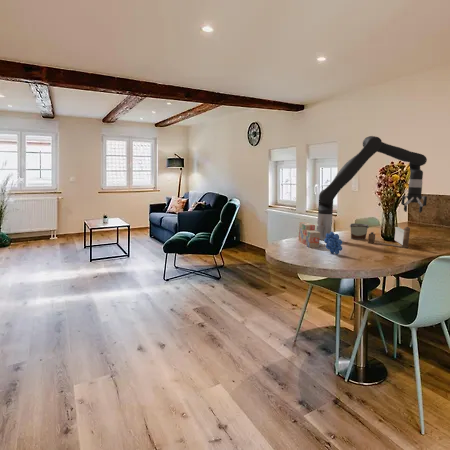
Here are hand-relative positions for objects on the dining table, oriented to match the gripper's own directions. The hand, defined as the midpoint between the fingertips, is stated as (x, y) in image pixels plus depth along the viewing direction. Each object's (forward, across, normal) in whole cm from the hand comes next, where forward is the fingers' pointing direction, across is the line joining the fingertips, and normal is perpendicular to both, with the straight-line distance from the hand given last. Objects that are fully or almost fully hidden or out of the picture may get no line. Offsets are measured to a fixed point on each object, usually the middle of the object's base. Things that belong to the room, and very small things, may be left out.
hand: (412, 212), depth 221 cm
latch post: (+20, -25, -10) cm, 34 cm away
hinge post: (+20, -6, -18) cm, 28 cm away
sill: (+20, -15, -13) cm, 28 cm away
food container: (+20, -32, +4) cm, 38 cm away
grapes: (+20, -50, -51) cm, 75 cm away
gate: (+19, -7, -7) cm, 22 cm away
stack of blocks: (+20, -63, -29) cm, 73 cm away
